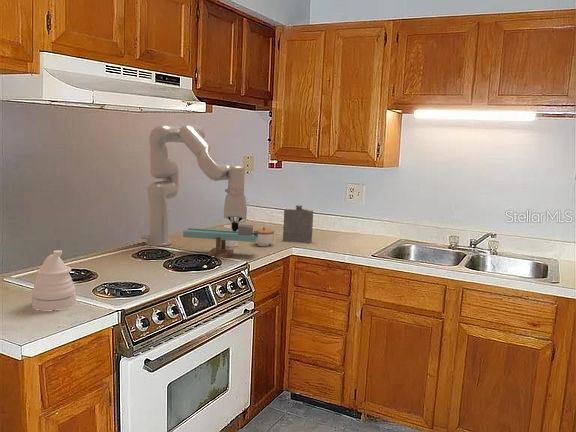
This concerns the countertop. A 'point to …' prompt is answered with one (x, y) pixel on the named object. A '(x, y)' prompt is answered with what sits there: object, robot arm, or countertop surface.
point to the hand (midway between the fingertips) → (234, 230)
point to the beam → (219, 234)
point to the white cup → (229, 242)
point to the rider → (245, 230)
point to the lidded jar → (264, 236)
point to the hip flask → (298, 225)
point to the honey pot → (53, 285)
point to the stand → (220, 249)
